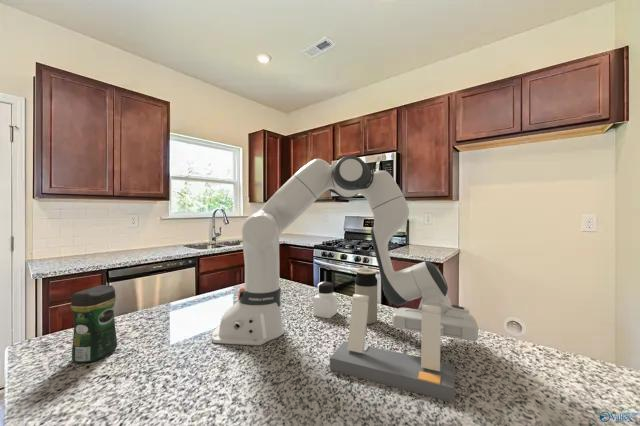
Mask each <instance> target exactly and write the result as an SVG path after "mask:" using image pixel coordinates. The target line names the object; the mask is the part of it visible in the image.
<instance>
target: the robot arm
mask: <svg viewBox="0 0 640 426" xmlns="http://www.w3.org/2000/svg"><path fill="white" fill-rule="evenodd" d="M326 191H330V192H331V193H333V194H335V195H337V196H339V197H341V198H344V199H351V198H355V197H357V196H358V195H361V196H362V197H364V199H366V201H367V202H368V204H369V207H370V209H371V211H372V213H373V214H372V215H373V219H374V220H373V226H372V227H371V229H370V237H371V242H372V247H373V252H374V254H375V258H376V262H377V266H378V270H379V274H380V281H381V283H382V284H381V285H382V290H383V293H384V296H385V298H386V300H387V301H388V302H389V303H392V304H393V305H396V306H402V305H405V304H407V303H409V302H410V301H414V300H418V299H420V298H421V300H420V303H419V304H418V305H419V306H418V308H410V307H399V308H397V309H395V311H393V313H392V314H391V315H392V317H391V318H392V320H391V321H392V323H391V324H392V326H393V328H395V329H399V330H404V331H411V332H418V333H422V304H424V305H432V306H439V307H441V337H445V338H446V337H447V338H454V339H459V340H465V341H469V342H470V341H471V342H477V341H478V340H479V325H478V322H477V321H476V319H475V317H474V316H473V315H471V314H470V310H469V308H467V307H463V306H460V305H455V304H453V303H451V299H450V298H449V296H448V292H449V287H448V283H447V281H446V277H445V276H444V274H443V273H442V271H441V269H440V268H439V267H438V266H437V265H436V264H434V263H432V262H430V261H427V260H425V261H422V262H419V263H416V264H414V265H412V266H408V267H406V268H403V269H400V270H397V271H395V270H394V267H393V264H392V260H391V256H390V251H389V243H390V240H391V239H392V238H393V236H394V235H395V234H396V233H398V232H399V230H401V229H402V228H403V226H404V225H405V224H406V223H407V220H408V219H409V215H410V208H409V205H408V202H407V200H406V198H405V196H404V194H403V192H402V190H401V188H400V186H399V184H397V182H396V180H395V179H394V177H393V176H392V175H391V174H390V173H389V172H388V171H387V170H376V171H374V168H372V167H371V166H370V165H368V163H366V162H365V161H364V160H362V159H361V158H360V157H358V156H356V155H345V156H343V157H342V158H340V159H339V160H338V161H336V163H335V165H332V164H330V163H329V162H327V161H326V160H324V159H322V158H314V159H312V160H310V161H309V162H308V163H306V164H305V165H303V166H302V167H301V168H299V170H297V171H296V172H295V173H294V174H293V175H292V176H291V177H290V178H289V179H287V181H286V182H284V184H282V186H281V187H280V188H278V190H276V191H275V192H274V193H273V195H272V196H270V198H269V199H268V200H267V201H266V202H265V203H264V204H263V206H261V207H260V208H259V209H258V210H257V211H256V212H255V213H254V212H253V213H252V214H250V215H249V216H247V218H246V219H245V220H244V222H243V223H242V228H241V235H242V238H241V239H242V251H243V252H242V253H243V260H244V286H241V287H240V288H239V290H238V295H237V297H238V298H237V299H238V301H237V302H235V303H234V304H233V305H232V306H230V307H229V308H228V309H226V311H224V313H223V315H222V316H221V318H220V322H219V325H217V327H216V328H215V329H214V330H213V332H212V335H211V341H212V342H213V343H214V344H228V345H230V344H231V345H244V346H245V345H246V346H247V345H248V346H262V345H263V344H266V343H267V342H269V341H273V340H275V339H277V338H279V337H281V336H282V335H283V334H284V333H285V326H284V323H283V318H282V311H281V310H282V309H281V305H282V289H281V286H280V283H281V281H280V235H281V234H282V233H283V232H284V231H285V230H287V228H288V227H290V226H291V225H292V224H293V223H294V222H295V221H296V220H297V219H298V218H299V217H301V215H303V213H304V212H305V211H306V210H308V209H309V207H311V206H312V204H313V203H315V201H317V200H318V199H319V198H320V197H321V196H322V195H323V194H324V193H325V192H326Z"/></svg>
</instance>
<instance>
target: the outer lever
mask: <svg viewBox="0 0 640 426" xmlns="http://www.w3.org/2000/svg"><path fill="white" fill-rule="evenodd" d="M420 337H421V340H420V341H421V342H420V343H421V347H420V350H421V353H420V355H421V356H420V357H421V367H422V368H427V369H431V370H435V371H440V361H441V338H442V336H441V307H439V306H432V305H424V304H422V332H421V336H420Z"/></svg>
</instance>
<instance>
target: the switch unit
mask: <svg viewBox="0 0 640 426" xmlns="http://www.w3.org/2000/svg"><path fill="white" fill-rule="evenodd" d="M347 347H348V341H345V340H344V341H342V343H341V344H340V345H339V346H338V348H337V349H336V350H335V351H334V352H333V353H332V354H331V356H330V357H329V370H330V371H332V372H336V373H341V374H344V375H348V376H352V377H356V378H359V379H364V380H367V381H370V382H374V383H379V384H381V385H386V386H390V387H393V388H397V389H400V390H404V391H408V392H412V393H416V394H420V395H424V396H427V397H431V398H434V399H439V400H443V401H446V402H449V403H453V404H455V402H456V399H455V397H456V388H455V387H456V384H455V383H456V382H455V381H456V378H455V375H456V374H455V373H456V372H455V371H456V370H455V368H456V365H455V364H456V363H455V364H454V363H450V362H445V361H441V360H440V371H435V370H431V369H427V368H422V367H421V356H416V355H412V354H408V353H402V352H397V351H394V350H389V349H384V348H379V347H374V346H370V345H369V344H366V343H365V347H364V353H360V352H355V351H351V350H347Z"/></svg>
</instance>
